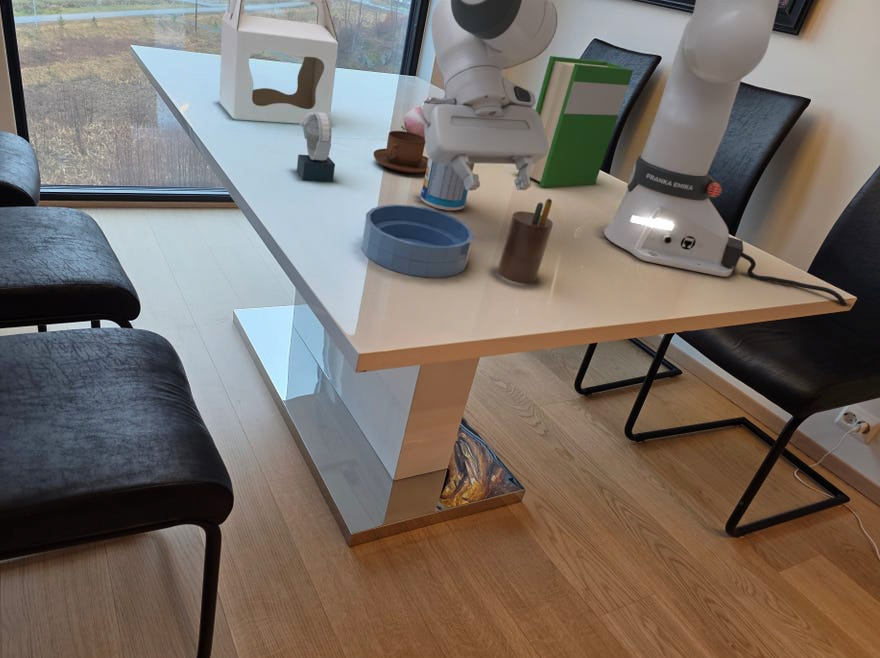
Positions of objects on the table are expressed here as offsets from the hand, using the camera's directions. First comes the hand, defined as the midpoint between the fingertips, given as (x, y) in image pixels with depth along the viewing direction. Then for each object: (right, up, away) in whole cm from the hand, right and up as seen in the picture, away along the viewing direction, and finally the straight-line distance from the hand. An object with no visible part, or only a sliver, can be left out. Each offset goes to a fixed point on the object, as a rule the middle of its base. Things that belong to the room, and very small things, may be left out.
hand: (499, 188), depth 97 cm
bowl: (-13, -10, -1) cm, 16 cm away
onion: (-10, +27, +60) cm, 66 cm away
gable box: (-43, +31, +54) cm, 76 cm away
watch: (-30, +8, +22) cm, 38 cm away
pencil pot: (+2, -13, -1) cm, 13 cm away
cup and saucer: (-14, +13, +36) cm, 41 cm away
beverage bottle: (-7, +3, +22) cm, 23 cm away
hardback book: (+20, +14, +49) cm, 55 cm away
